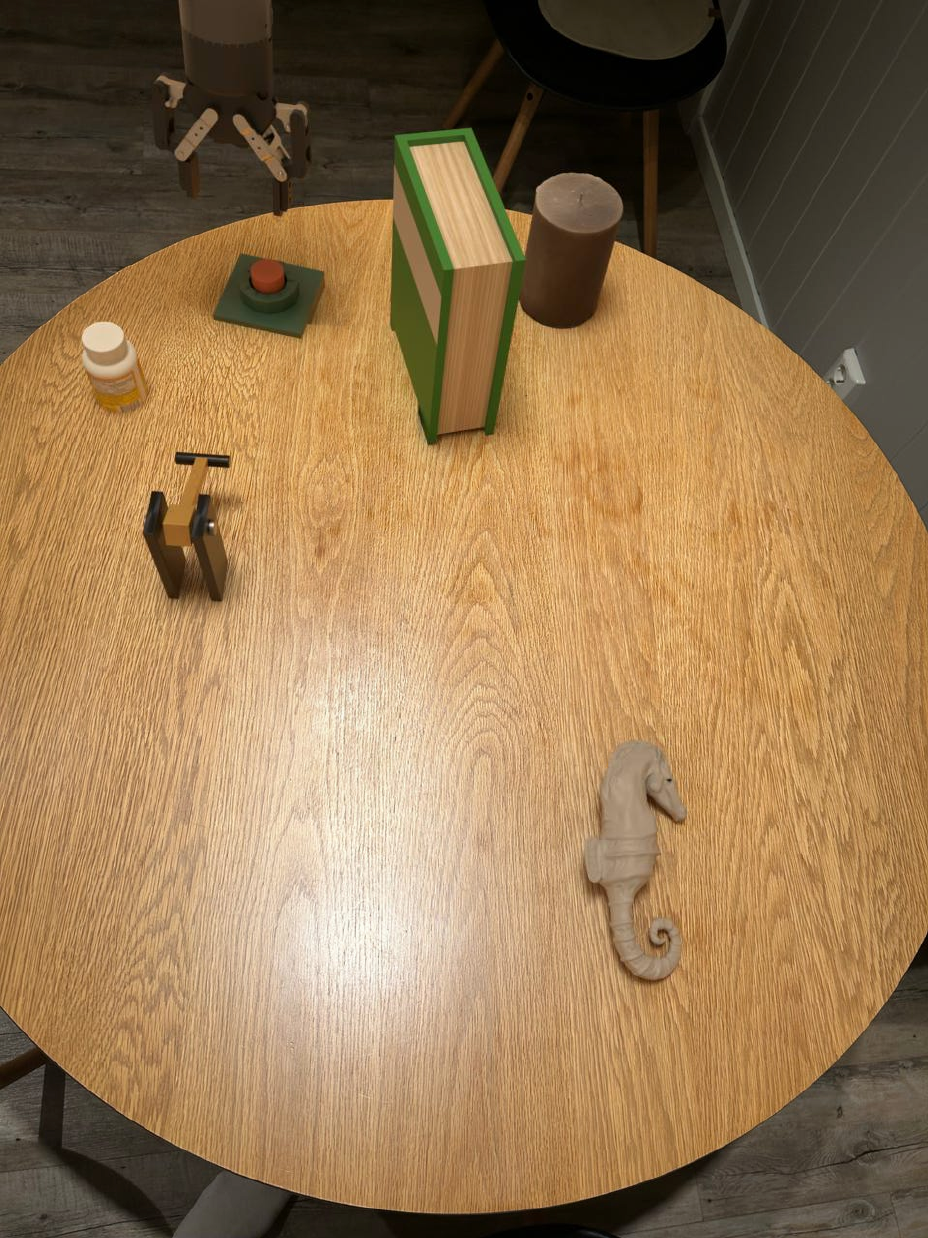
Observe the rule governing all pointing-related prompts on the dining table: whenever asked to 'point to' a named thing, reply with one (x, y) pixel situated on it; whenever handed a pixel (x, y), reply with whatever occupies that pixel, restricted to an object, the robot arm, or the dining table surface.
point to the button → (267, 276)
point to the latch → (189, 496)
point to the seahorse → (633, 848)
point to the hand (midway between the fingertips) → (237, 203)
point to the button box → (271, 299)
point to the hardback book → (452, 279)
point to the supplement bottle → (113, 368)
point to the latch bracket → (173, 557)
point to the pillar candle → (569, 248)
